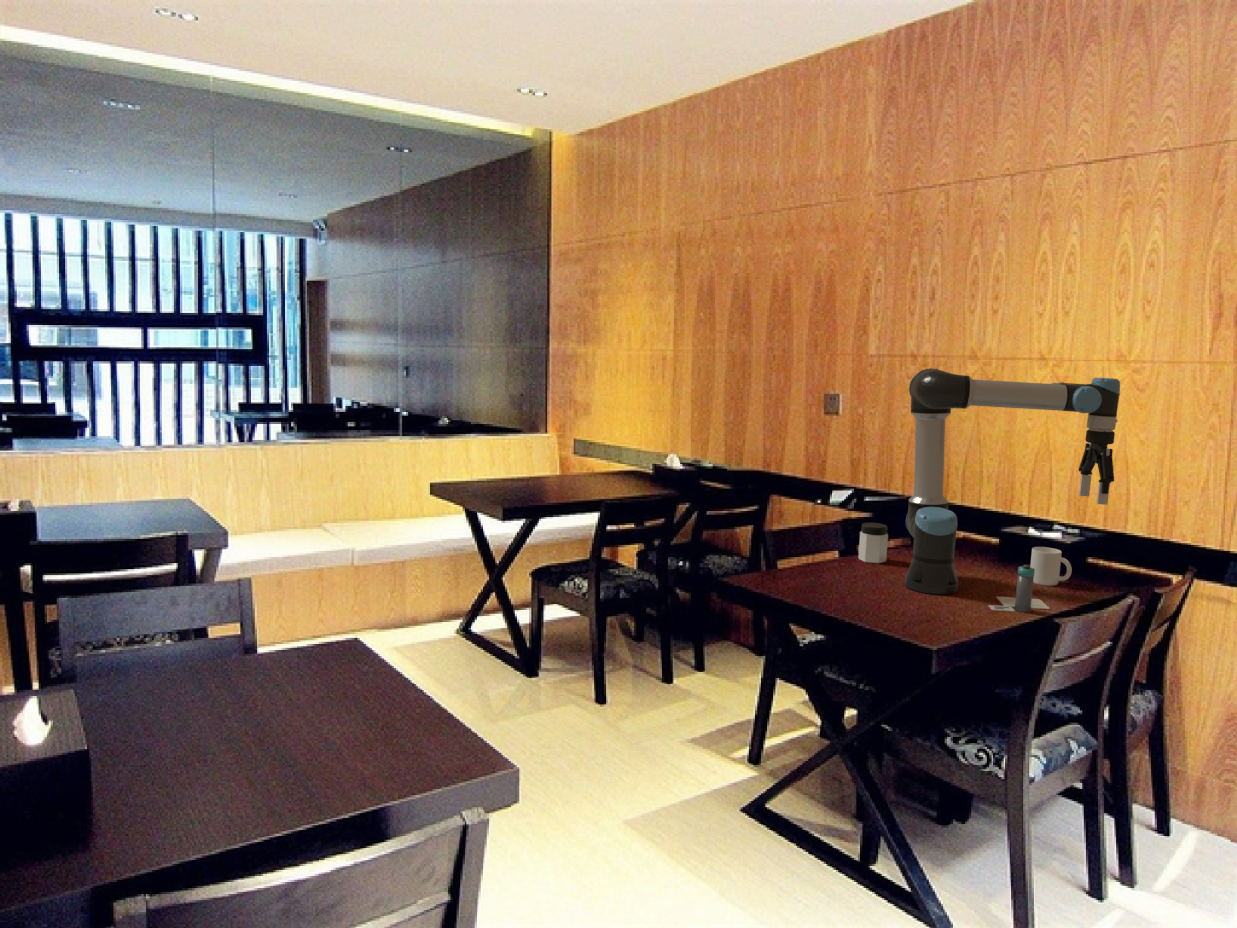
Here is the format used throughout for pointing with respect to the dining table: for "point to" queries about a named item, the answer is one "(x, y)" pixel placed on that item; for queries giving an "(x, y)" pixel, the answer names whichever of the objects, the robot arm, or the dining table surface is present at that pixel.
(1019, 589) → the grey teal battery
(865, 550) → the jar
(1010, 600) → the paper
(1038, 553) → the mug
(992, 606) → the word card
